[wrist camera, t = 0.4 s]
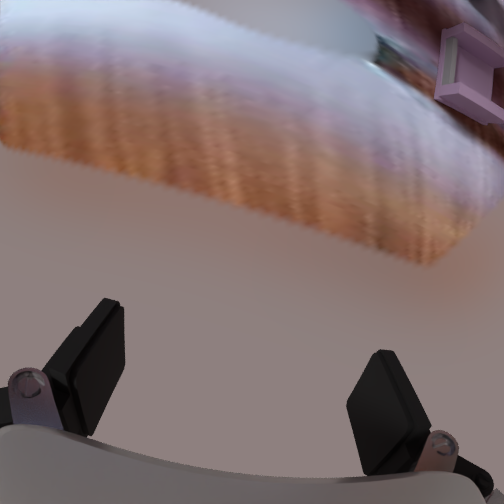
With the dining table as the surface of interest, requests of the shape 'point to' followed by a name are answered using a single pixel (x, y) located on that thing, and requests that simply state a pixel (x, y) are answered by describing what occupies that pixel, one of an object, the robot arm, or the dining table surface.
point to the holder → (469, 73)
